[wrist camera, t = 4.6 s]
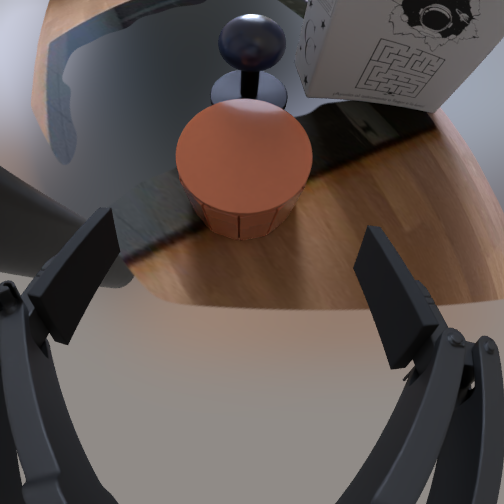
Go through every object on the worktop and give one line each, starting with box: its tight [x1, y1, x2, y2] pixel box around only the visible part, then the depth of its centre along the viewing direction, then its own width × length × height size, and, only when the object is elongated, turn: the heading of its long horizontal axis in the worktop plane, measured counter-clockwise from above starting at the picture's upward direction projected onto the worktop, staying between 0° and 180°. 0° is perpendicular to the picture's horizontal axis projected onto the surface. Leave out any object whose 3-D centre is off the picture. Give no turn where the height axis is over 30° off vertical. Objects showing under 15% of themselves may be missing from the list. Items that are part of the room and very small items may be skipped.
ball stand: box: [210, 70, 287, 110], centre depth 25 cm, size 9×9×6 cm
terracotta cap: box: [176, 99, 312, 241], centre depth 22 cm, size 10×10×8 cm
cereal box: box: [294, 0, 504, 113], centre depth 18 cm, size 22×8×25 cm, turn 97°
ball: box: [218, 14, 286, 72], centre depth 20 cm, size 6×6×6 cm
